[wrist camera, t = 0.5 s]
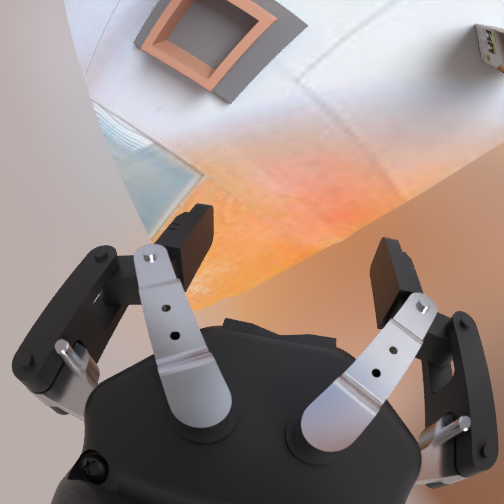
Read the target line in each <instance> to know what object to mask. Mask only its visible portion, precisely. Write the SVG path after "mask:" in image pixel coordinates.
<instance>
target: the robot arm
mask: <svg viewBox="0 0 504 504" xmlns="http://www.w3.org/2000/svg"><path fill="white" fill-rule="evenodd" d="M213 235H214V220H213V206H212V205H205V204H198V203H197V204H196V205H195V206H194V207H193V208H192V210H191V211H190V212H184V213H182V214H180V215H179V216H177V217H176V218H175V219H174V220H173V221H172V223H171V224H170V225H169V226H168V227H167V229H166V230H165V231H164V232H163V234H162V235H161V236H160V237H159V238H158V240H157V241H156V242H155V243H154V244H149V245H145V246H143V247H140V248H139V249H138V250H137V251H136V252H135V253H134V255H130V256H117V252H116V249H115V248H114V247H112V246H108V245H105V246H99V247H96V248H95V249H93V250H91V251H90V252H89V253H88V254H87V256H86V257H85V258H84V259H83V260H82V262H81V263H80V264H79V265H78V266H77V268H76V269H75V270H74V271H73V273H72V274H71V275H70V276H69V278H68V279H67V280H66V281H65V283H64V284H63V285H62V286H61V288H60V289H59V290H58V292H57V293H56V294H55V296H54V297H53V298H52V300H51V301H50V303H49V304H48V305H47V307H46V308H45V309H44V311H43V312H42V314H41V315H40V317H39V318H38V320H37V321H36V323H35V324H34V325H33V327H32V328H31V330H30V331H29V333H28V334H27V336H26V338H25V339H24V341H23V342H22V344H21V345H20V347H19V349H18V351H17V352H16V354H15V356H14V358H13V361H12V370H13V373H14V375H15V376H16V377H17V378H18V379H19V380H20V381H21V382H22V383H23V384H24V385H25V386H26V387H27V388H28V390H29V391H30V392H31V393H32V394H34V395H35V396H36V397H37V398H38V399H39V400H41V401H42V402H43V403H44V404H45V405H47V406H49V407H50V408H52V409H53V410H54V411H55V412H57V413H59V414H62V415H66V414H71V415H73V416H75V417H77V418H79V419H81V420H83V421H84V423H85V437H84V445H83V450H82V453H81V455H80V457H79V459H78V460H77V462H76V463H75V464H74V466H73V467H72V468H71V470H70V471H69V472H68V473H67V474H66V476H65V477H64V478H63V479H62V480H61V482H60V483H59V485H58V487H57V489H56V492H55V494H54V497H53V500H52V502H51V504H405V503H406V500H407V498H408V495H409V493H410V491H411V489H412V488H413V486H414V485H418V484H426V485H427V486H428V487H430V488H433V489H435V488H439V487H443V486H446V485H449V484H452V483H455V482H457V481H461V480H463V479H466V478H469V477H471V476H474V475H476V474H479V473H481V472H483V471H486V470H488V469H490V468H491V467H492V466H493V465H494V463H495V462H496V459H497V456H498V434H497V423H496V413H495V406H494V399H493V393H492V387H491V382H490V377H489V372H488V367H487V363H486V359H485V355H484V351H483V347H482V344H481V340H480V336H479V333H478V329H477V326H476V323H475V322H474V320H473V319H472V318H471V317H470V316H469V315H468V314H467V313H465V312H462V311H457V312H455V313H454V315H453V316H452V317H451V318H449V317H447V316H445V315H443V314H440V313H438V312H437V306H436V304H435V303H434V301H433V300H432V299H431V298H430V297H429V296H427V295H425V294H423V291H422V288H421V285H420V282H419V279H418V276H417V273H416V270H415V269H414V265H413V262H412V260H411V258H409V256H408V255H407V254H406V253H405V252H402V249H401V247H400V244H399V241H398V240H394V239H390V238H386V237H383V238H382V239H381V241H380V243H379V246H378V249H377V251H376V254H375V256H374V259H373V261H372V264H371V268H370V278H371V285H372V291H373V298H374V305H375V312H376V319H377V328H378V329H382V331H381V332H380V333H379V334H378V336H377V337H376V338H375V339H374V340H373V341H372V343H371V344H370V345H369V346H368V347H367V348H366V349H365V351H364V352H363V353H362V354H361V355H360V356H359V357H358V359H355V358H354V357H353V356H351V355H350V354H349V353H347V352H346V351H344V350H342V349H340V348H337V347H336V338H330V337H323V336H317V335H311V334H304V335H278V334H276V333H273V332H270V331H268V330H266V329H264V328H261V327H259V326H257V325H254V324H252V323H247V322H242V321H238V320H233V319H228V318H225V320H224V323H223V326H211V327H206V328H202V329H199V327H198V325H197V322H196V320H195V317H194V315H193V312H192V310H191V307H190V305H189V302H188V300H187V297H186V295H185V292H186V291H187V289H188V287H189V285H190V283H191V281H192V279H193V278H194V276H195V274H196V272H197V270H198V268H199V267H200V265H201V263H202V261H203V259H204V258H205V256H206V254H207V252H208V250H209V248H210V247H211V244H212V241H213ZM98 294H100V295H99V297H98V298H97V300H96V301H95V303H94V300H95V299H96V297H97V296H98ZM93 303H94V304H93ZM136 304H137V305H142V308H143V313H144V317H145V321H146V325H147V329H148V333H149V337H150V341H151V344H152V348H153V352H154V354H153V355H151V356H149V357H147V358H145V359H144V360H142V361H140V362H138V363H136V364H134V365H133V366H131V367H129V368H127V369H125V370H123V371H122V372H120V373H118V374H116V375H114V376H112V377H110V378H108V379H106V380H104V381H103V382H101V383H100V384H99V385H98V380H99V376H100V372H99V368H98V366H97V363H98V361H99V359H100V357H101V355H102V353H103V351H104V349H105V347H106V345H107V343H108V341H109V339H110V338H111V336H112V334H113V332H114V330H115V329H116V327H117V325H118V323H119V321H120V319H121V317H122V316H123V314H124V312H125V311H126V309H127V307H128V305H136ZM414 357H416V358H418V359H421V361H422V371H423V383H424V399H425V429H424V430H423V431H422V432H421V434H420V436H419V441H418V442H417V441H416V439H415V438H414V436H413V435H412V434H411V432H410V431H409V429H408V428H407V427H406V425H405V424H404V422H403V421H402V420H401V418H400V417H399V416H398V414H397V413H396V411H395V410H394V409H393V407H392V406H391V405H390V403H389V402H388V401H387V398H388V396H389V395H390V393H391V392H392V391H393V389H394V388H395V386H396V385H397V383H398V382H399V381H400V379H401V378H402V376H403V375H404V373H405V371H406V370H407V368H408V367H409V365H410V364H411V362H412V360H413V359H414ZM452 360H453V362H454V368H455V372H454V375H453V376H452V369H451V363H450V362H451V361H452Z"/></svg>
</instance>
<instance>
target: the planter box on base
mask: <svg viewBox="0 0 504 504" xmlns="http://www.w3.org/2000/svg"><path fill="white" fill-rule="evenodd" d="M307 26H308V25H307V24H306V23H304V22H303V21H302V20H301V19H299V18H298V17H297V16H295V15H294V14H293V13H291V12H290V11H289V10H287V9H286V8H285V7H283V6H282V5H281V4H279V3H278V2H276V1H275V0H160V1H159V2H158V3H157V5H156V6H155V8H154V9H153V11H152V13H151V14H150V16H149V17H148V19H147V20H146V22H145V24H144V25H143V27H142V29H141V30H140V32H139V34H138V36H137V37H136V39H135V41H134V44H136V45H138V46H139V47H141V50H143V51H145V52H147V53H149V54H150V55H152V56H154V57H156V58H157V59H159V60H161V61H162V62H164V63H166V64H167V65H169V66H171V67H172V68H174V69H176V70H177V71H179V72H181V73H182V74H184V75H185V76H187V77H189V78H190V79H192V80H193V81H195V82H196V83H198V84H199V85H201V86H202V87H204V88H205V89H207V90H208V91H210V92H211V91H213V92H214V93H216V94H217V95H219V96H220V97H222V98H223V99H225V100H226V101H227V102H229V103H230V104H231V103H232V102H233V101H234V100H235V98H236V97H237V96H238V95H239V94H240V93H241V92H242V91H243V90H244V88H245V87H246V86H247V85H248V84H249V83H250V82H251V81H252V80H253V79H254V78H255V77H256V76H257V75H258V74H259V72H260V71H261V70H262V69H263V68H264V67H265V66H266V65H267V64H268V63H269V62H270V61H271V60H272V59H273V58H274V57H275V56H276V55H277V54H278V53H279V52H280V51H281V50H282V49H283V48H285V47H286V46H287V45H288V44H289V43H290V42H291V41H292V40H293V39H294V38H295V37H296V36H297V35H299V34H300V33H301V32H302V31H303V30H304V29H305V28H306V27H307Z"/></svg>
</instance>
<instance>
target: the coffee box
mask: <svg viewBox="0 0 504 504" xmlns="http://www.w3.org/2000/svg"><path fill="white" fill-rule="evenodd" d="M476 30H477V35H478V41H479V47H480V53H481V59H482V61H484V62H485V63H487V64H489V65H491V66H492V67H494V68H496V69H498V70H500V71H501V72H503V73H504V29H503V28H498V27H492V26H486V25H479V24H476Z"/></svg>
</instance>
